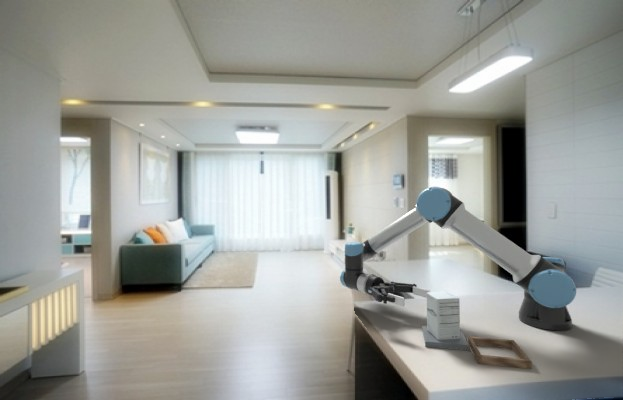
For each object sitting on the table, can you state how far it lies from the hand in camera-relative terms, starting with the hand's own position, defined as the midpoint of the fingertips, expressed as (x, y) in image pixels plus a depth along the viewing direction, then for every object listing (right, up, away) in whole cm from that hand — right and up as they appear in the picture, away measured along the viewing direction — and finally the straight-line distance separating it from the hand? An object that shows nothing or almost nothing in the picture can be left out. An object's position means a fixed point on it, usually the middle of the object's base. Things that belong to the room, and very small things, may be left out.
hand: (416, 298), depth 107 cm
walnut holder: (+17, -10, -18) cm, 27 cm away
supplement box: (+6, -9, -8) cm, 13 cm away
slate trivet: (+6, -11, -8) cm, 14 cm away
